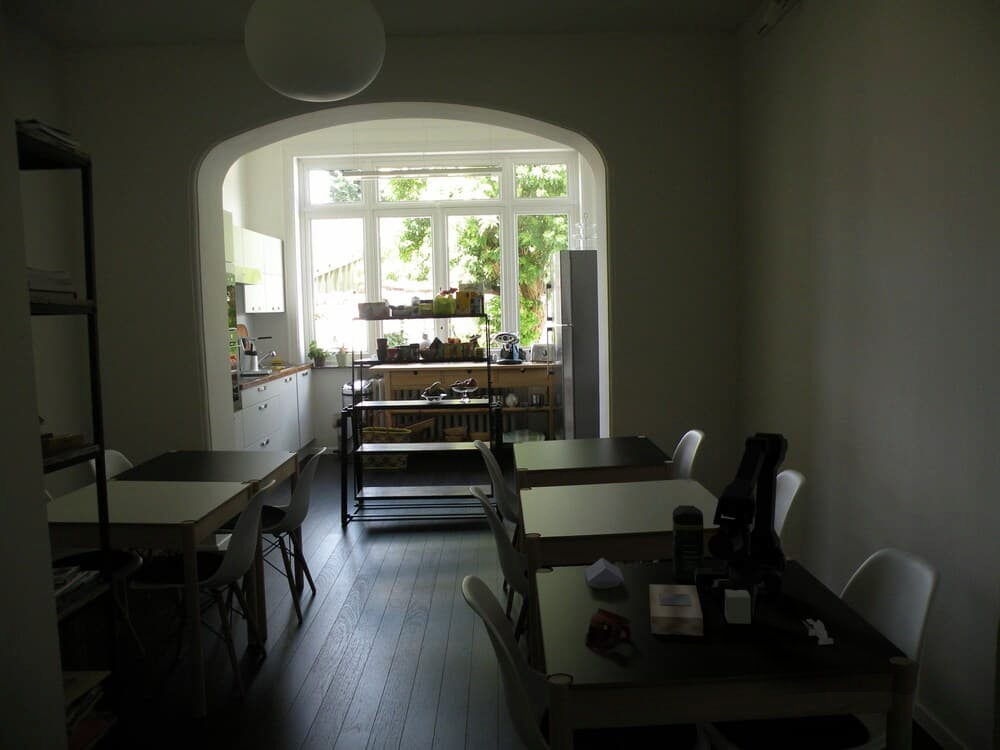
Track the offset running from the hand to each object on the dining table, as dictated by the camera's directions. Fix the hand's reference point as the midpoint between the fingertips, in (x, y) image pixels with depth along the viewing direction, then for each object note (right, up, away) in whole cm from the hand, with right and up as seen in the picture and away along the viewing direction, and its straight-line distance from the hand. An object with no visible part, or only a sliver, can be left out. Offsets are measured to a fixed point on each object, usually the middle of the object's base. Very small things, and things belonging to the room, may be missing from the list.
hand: (737, 614), depth 181 cm
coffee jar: (-4, +1, +29) cm, 29 cm away
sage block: (0, -1, 0) cm, 1 cm away
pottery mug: (-31, -3, -11) cm, 33 cm away
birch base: (-14, -1, +2) cm, 14 cm away
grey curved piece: (+14, -2, -8) cm, 16 cm away
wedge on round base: (-27, 0, +25) cm, 37 cm away
